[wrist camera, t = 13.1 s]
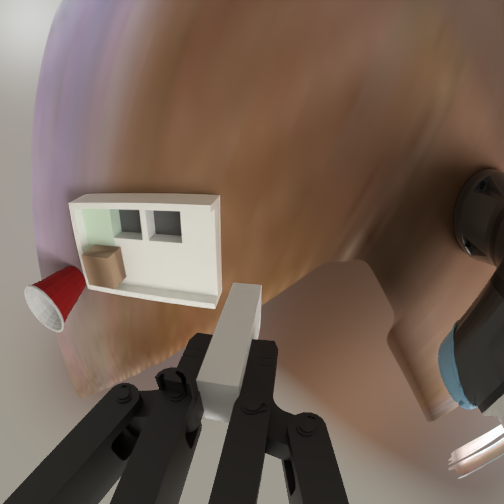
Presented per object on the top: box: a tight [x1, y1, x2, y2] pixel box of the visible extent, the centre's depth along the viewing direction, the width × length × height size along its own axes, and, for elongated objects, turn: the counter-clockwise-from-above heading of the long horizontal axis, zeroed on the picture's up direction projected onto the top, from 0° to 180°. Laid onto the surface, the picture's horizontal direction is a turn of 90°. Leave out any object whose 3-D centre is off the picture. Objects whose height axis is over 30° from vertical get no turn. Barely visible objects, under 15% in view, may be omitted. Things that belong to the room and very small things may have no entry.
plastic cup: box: [24, 266, 86, 332], centre depth 46 cm, size 11×11×12 cm
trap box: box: [68, 193, 222, 309], centre depth 42 cm, size 24×16×5 cm, turn 88°
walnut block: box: [81, 244, 126, 289], centre depth 42 cm, size 6×6×4 cm
